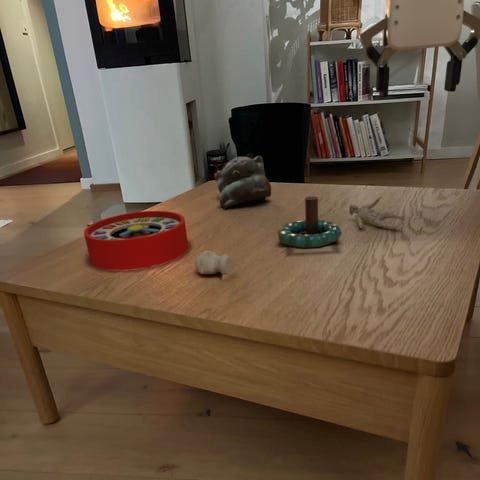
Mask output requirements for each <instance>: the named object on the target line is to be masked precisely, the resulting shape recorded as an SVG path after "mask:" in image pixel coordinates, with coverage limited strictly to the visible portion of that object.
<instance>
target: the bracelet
mask: <svg viewBox="0 0 480 480" xmlns="http://www.w3.org/2000/svg"><path fill="white" fill-rule="evenodd" d="M277 232H278V233H277V234H278V235H277V237H278V240H279V241H280V242H281V243H283V244H285V245H287V246H288V247H289V246H293V247H301V248H302V249H306V248H307V249H308V248H309V249H310V248H321V247H326V246H325V245H329V244H332V243H334V242H335V241H336V242H337V241H338V240H340V238H341V237H342V230H341V228H340V226H339V224H337V223H335V222H332V221H329V220H325V219H324V220H323V219H318V232H324V233H320V234H310V235H302V234H296V233H302V232H306V223H305V219H300V220H299V219H298V220H295V221H291V222H288V223H285V224H284V225H282V226H280V228H279V229H278V231H277Z"/></svg>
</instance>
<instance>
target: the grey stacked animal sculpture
mask: <svg viewBox="0 0 480 480" xmlns="http://www.w3.org/2000/svg"><path fill="white" fill-rule="evenodd" d="M214 178H215V181H216V185H217V186H216V187H217V189H218V191H219V196H218V201H219V204H220V207H222V208H223V209H227V208H229V207H231V206H234V205H237V204H241V203H247V202H251V201H263V200H266V199H267V198H269V197H271V196H272V185H271V182H270V180H269V178H267V177H266V173H265V164H264V159H263V157H262V156H260V155H257V156H254V154H253V153H252V152H251V153H250V152H249V153H247V154H246V155H244V156H238V157H234V158H233V159H230V160H229V161H227V162H225V163H224V164H223V166H222V169H220V170H217V172H216V173H214Z"/></svg>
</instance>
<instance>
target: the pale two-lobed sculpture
mask: <svg viewBox="0 0 480 480" xmlns="http://www.w3.org/2000/svg"><path fill="white" fill-rule="evenodd" d="M194 265H195V266H194V267H195V269H196V271H197V272H198V273H199V274H201V275H215V274H217V273H220V274H221V275H222V276H223V275H229V274H230V273H232V272H234V271H235V263H234V261H233V259H232V258H231V256H229V254H227V253H223V254H222V255H219V254H217V253H216V252H214V251H212V250H205V251H203V252H200V253H199V254H198V256H197V257H196V259H195V263H194Z"/></svg>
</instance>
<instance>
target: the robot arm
mask: <svg viewBox="0 0 480 480" xmlns="http://www.w3.org/2000/svg"><path fill="white" fill-rule="evenodd" d="M384 6H385V7H384V15H383V19H381V20H379V21H377V22H376V23H375V24H373V25H371V26H370V27H369V28H367V29H366V30H364V31H363V32H361V33H360V34H359V36H358V40H359V43H360V44H361V47H362V49H363V51H364V54H365V55H366V57H367V58H368V59H369V60H370V61H371V62H372V63H373V64H374V66H375V67H376V74H375V75H376V76H375V77H376V78H375V91H376V92H379V93H378V96H379V97H381V98H386V97H388V96H389V88H390V87H389V86H390V85H389V84H390V70H391V68H390V66H388V65H389V64H388V62H389V61H390V60H391V58H392V57H393V55H394V54H396V52H398V51H410V50H411V51H412V50H421V49H433V48H434V49H435V48H441V47H443V48H444V49H445V51H446V52H447V53H448V55H449V60H448V61H447V62H446V67H445V78H444V87H443V90H444V91H446V92H450V93H452V92H456V89H457V86H459V84H460V82H461V77H462V75H461V74H462V68H463V60H465V59H466V58H467V55H468V54H470V52H471V51H472V50H473V49H474V48H476V46H477V45H478V43H479V40H480V17H478V16H475V15H473V14H472V13H470V12H469V11H466V10H464V9H465V8H464V7H465V0H385V5H384ZM463 26H465V27H466V28H468V29H470V33H469V36H468V38H466V39H465V41H464V42H463V43H462V44H461V42H460V41H459V40H460V39H461V36H462V30H463ZM381 32H382V37H381V40H382V41H381V45H382V48H383V49H382V50H381V52H379V50H377V49H376V48H375V47H374V44H373V41H372V40H373V38H374V37H376V35H378V34H379V33H381Z"/></svg>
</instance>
